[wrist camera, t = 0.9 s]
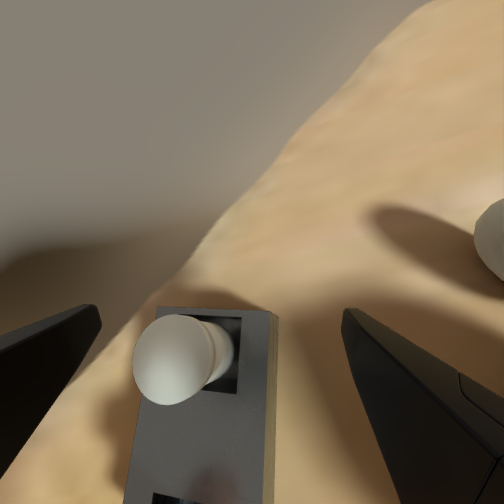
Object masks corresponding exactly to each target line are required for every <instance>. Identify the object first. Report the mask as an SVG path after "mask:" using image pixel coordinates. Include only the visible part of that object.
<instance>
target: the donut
mask: <svg viewBox="0 0 504 504" xmlns="http://www.w3.org/2000/svg"><path fill="white" fill-rule="evenodd" d="M473 241H474V244H475V247H476V250H477V253H478V255H479V257H480V258H481V259H482V261H483V262H484V263H485V265H486V266H487V267H488V268H489V269H490V270H491V271H492V272H493V273H494V274H495V275H497V276H498V277H499V278H500V279H501V280H502V281H504V198H503V199H501V200H499V201H497V202H495V203H494V204H492V205H490V207H489V208H488V209H487V210H486V211H485V212H484V213H483V214H482V215H481V216H480V218H479V219H478V220H477V221H476V226H475V231H474V236H473Z"/></svg>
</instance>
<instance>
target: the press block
mask: <svg viewBox="0 0 504 504" xmlns="http://www.w3.org/2000/svg"><path fill="white" fill-rule="evenodd" d="M172 314H177V315H184V316H190V317H193V318H195V319H197V320H199V321H203V322H210V323H217V324H219V325H222V326H223V327H225V328H226V329H227V330H228V331H229V333H230V334H231V336H232V338H233V341H234V345H235V356H234V360H233V363H232V365H231V367H230V369H229V370H228V371H227V372H226V373H225V374H224V375H223V376H222V377H220V378H218V379H216V380H214V381H212V382H210V383H208V384H206V385H205V386H204V387H203V388H202V389H201V390H200V391H199V392H197V393H196V394H195V395H193V396H191V397H189V398H187V399H186V400H184V401H182V402H179V403H176V404H172V405H161V404H157V403H155V402H152V401H151V400H149V399H148V398H147V397H145V396H144V395H143V393H142V398H141V403H140V409H139V415H138V420H137V426H136V432H135V437H134V443H133V449H132V454H131V460H130V466H129V471H128V477H127V483H126V488H125V494H124V500H123V504H274V474H275V434H276V394H277V354H278V316H276V315H275V314H273V313H272V312H270V311H254V310H231V309H208V308H185V307H162V306H158V307H157V312H156V318H155V320H157V319H158V318H160V317H163V316H166V315H172Z"/></svg>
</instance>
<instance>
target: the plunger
mask: <svg viewBox="0 0 504 504" xmlns="http://www.w3.org/2000/svg"><path fill="white" fill-rule="evenodd" d="M234 356H235V345H234V341H233V338H232V336H231V334H230V333H229V331H228V330H227V329H226V328H225V327H223V326H222V325H219V324H217V323H210V322H203V321H199V320H197V319H195V318H193V317H190V316H184V315H177V314H172V315H166V316H163V317H160V318H158V319H157V320H155V321H153V322H152V323H151V324H150V325H149V326H148V327H147V328H146V329H145V330H144V331H143V333H142V334H141V336H140V337H139V339H138V341H137V343H136V346H135V349H134V353H133V362H132V367H133V375H134V379H135V382H136V384H137V386H138V388H139V389H140V391H141V392H142V393H143V395H144V396H145V397H147V398H148V399H149V400H151V401H152V402H155V403H157V404H161V405H172V404H176V403H179V402H182V401H184V400H186V399H187V398H189V397H191V396H193V395H195V394H196V393H197V392H199V391H200V390H201V389H202V388H203V387H204V386H205V385H206V384H208V383H210V382H212V381H214V380H216V379H218V378H220V377H222V376H223V375H224V374H225V373H226V372H227V371H228V370H229V369H230V367H231V365H232V363H233V360H234Z"/></svg>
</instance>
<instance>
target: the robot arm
mask: <svg viewBox="0 0 504 504" xmlns="http://www.w3.org/2000/svg"><path fill="white" fill-rule="evenodd" d="M101 327H102V322H101V319H100V315H99V312H98V309H97V307H96V305H93V304H83V305H80V306H77V307H75V308H72V309H69V310H67V311H64V312H62V313H59V314H56V315H54V316H51V317H48V318H46V319H43V320H40V321H38V322H35V323H32V324H30V325H27V326H25V327H22V328H19V329H17V330H14V331H11V332H9V333H6V334H3V335H1V336H0V479H1V478H2V476H3V475H4V473H5V472H6V471H7V469H8V468H9V466H10V465H11V463H12V462H13V461H14V459H15V458H16V456H17V455H18V453H19V452H20V451H21V449H22V448H23V446H24V445H25V443H26V442H27V441H28V439H29V438H30V436H31V435H32V433H33V432H34V431H35V429H36V428H37V426H38V425H39V424H40V422H41V421H42V419H43V418H44V416H45V415H46V414H47V412H48V411H49V409H50V408H51V406H52V405H53V404H54V402H55V401H56V399H57V398H58V396H59V395H60V394H61V392H62V391H63V389H64V388H65V386H66V385H67V384H68V382H69V381H70V379H71V378H72V376H73V375H74V373H75V372H76V371H77V369H78V367H79V366H80V364H81V363H82V361H83V359H84V357H85V356H86V354H87V352H88V351H89V349H90V347H91V345H92V344H93V342H94V340H95V339H96V337H97V335H98V333H99V332H100V330H101ZM341 333H342V338H343V342H344V345H345V349H346V353H347V357H348V361H349V365H350V369H351V372H352V376H353V379H354V382H355V384H356V387H357V390H358V392H359V395H360V397H361V400H362V403H363V405H364V408H365V411H366V413H367V416H368V418H369V421H370V424H371V426H372V429H373V432H374V434H375V437H376V439H377V442H378V445H379V447H380V450H381V453H382V455H383V458H384V460H385V463H386V466H387V468H388V471H389V474H390V476H391V479H392V481H393V484H394V487H395V489H396V492H397V494H398V497H399V500H400V502H401V504H504V398H502V397H500V396H499V395H497V394H495V393H494V392H492V391H490V390H489V389H487V388H485V387H484V386H482V385H480V384H479V383H477V382H475V381H474V380H472V379H471V378H469V377H467V376H466V375H464V374H463V373H461V372H459V373H458V371H457V370H456V369H454V368H453V367H451V366H450V365H448V364H446V363H445V362H443V361H441V360H440V359H438V358H437V357H435V356H433V355H432V354H430V353H429V352H427V351H425V350H424V349H422V348H420V347H419V346H417V345H416V344H414V343H412V342H411V341H409V340H408V339H406V338H404V337H403V336H401V335H400V334H398V333H396V332H395V331H393V330H391V329H390V328H388V327H387V326H385V325H383V324H382V323H380V322H379V321H377V320H375V319H374V318H372V317H370V316H369V315H367V314H366V313H364V312H362V311H361V310H359V309H357V308H345V309H344V311H343V317H342V325H341Z"/></svg>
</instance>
